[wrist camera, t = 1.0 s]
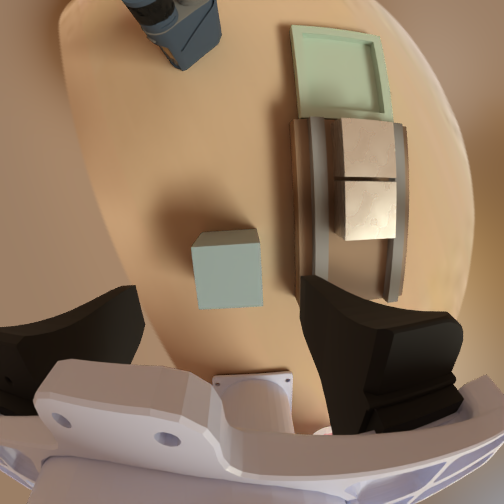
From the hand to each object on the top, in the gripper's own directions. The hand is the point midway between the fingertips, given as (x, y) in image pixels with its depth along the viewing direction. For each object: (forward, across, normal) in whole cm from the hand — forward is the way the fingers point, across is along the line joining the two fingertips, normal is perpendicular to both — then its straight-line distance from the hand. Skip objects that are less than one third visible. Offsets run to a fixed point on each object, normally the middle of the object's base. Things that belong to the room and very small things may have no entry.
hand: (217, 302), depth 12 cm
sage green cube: (+12, 0, +2) cm, 12 cm away
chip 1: (+10, -10, -6) cm, 15 cm away
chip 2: (+10, -10, -2) cm, 14 cm away
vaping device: (+13, +2, -16) cm, 20 cm away
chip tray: (+12, -10, -13) cm, 21 cm away
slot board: (+12, -10, -1) cm, 15 cm away
